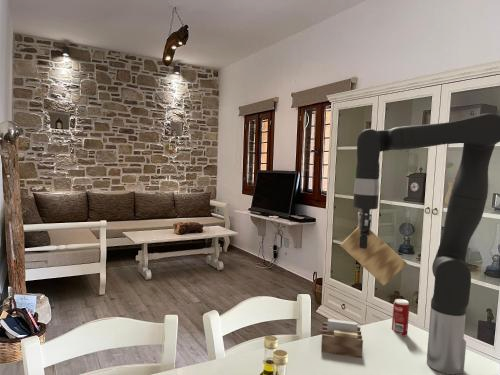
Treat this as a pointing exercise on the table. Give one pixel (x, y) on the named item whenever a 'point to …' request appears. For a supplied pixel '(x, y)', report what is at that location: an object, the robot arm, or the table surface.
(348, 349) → the rack
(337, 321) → the offcut grey
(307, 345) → the table surface
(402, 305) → the soda can
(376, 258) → the tall sheet
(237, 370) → the table surface
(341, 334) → the offcut pine
